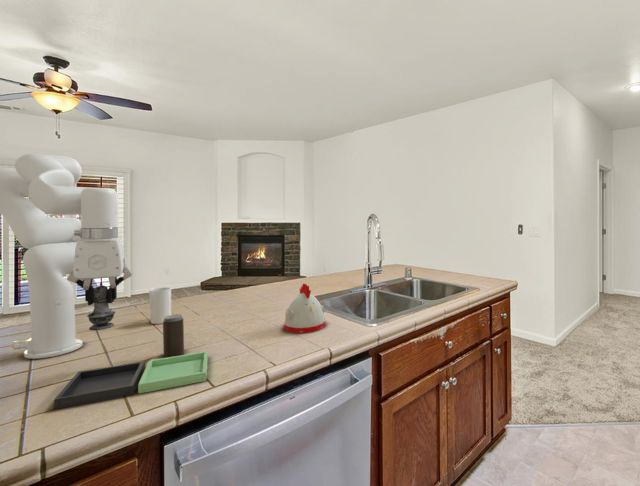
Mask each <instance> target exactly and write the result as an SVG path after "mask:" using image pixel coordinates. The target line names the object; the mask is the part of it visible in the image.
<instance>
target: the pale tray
mask: <svg viewBox="0 0 640 486" xmlns="http://www.w3.org/2000/svg"><path fill="white" fill-rule="evenodd" d="M208 361H209V352H208V350H206V351H200V352H194V353H187V354H182V355H180V356H174V357H168V358H166V357H161V358H154V359H150V360H148V362H147V364H146V366H145V370H144V372H143V375H142V377H141V379H140V381H139V383H138V386H137V391H138V394H145V393H149V392H154V391H159V390H165V389H170V388H176V387H181V386H187V385H191V384H196V383H201V382H206V381H207V374H208Z"/></svg>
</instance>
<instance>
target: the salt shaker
mask: <svg viewBox="0 0 640 486" xmlns="http://www.w3.org/2000/svg"><path fill="white" fill-rule="evenodd" d="M94 288H95V289H94V300H93V302H94V303H93V311H92V312H91V313H89V314H87V315H86V317H87V318H88V321H89V322H90V323H91V324H92V325H91V326H90V327H88V330H89V331H104V330H107V329H111V328H112V327H113V328H114V327H115V323H113V322H111V321H112V320H113V319H114V317H115V314H116V311H115V310H112V309H110V305H109V303H108V289H109V287H108V286H106V285H103V282H100V283H99V285H97V286H96V287H94Z"/></svg>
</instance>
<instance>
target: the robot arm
mask: <svg viewBox="0 0 640 486" xmlns="http://www.w3.org/2000/svg"><path fill="white" fill-rule="evenodd" d="M82 175H83V169H82V166H81V164H80V163H79V161H78V160H77V159H74V158H73V157H70V156H66V155H65V156H64V155H55V154H46V153H45V154H44V153H26V154H22V155H21V156H20V157H18V158H17V159H16V160H15V161H14V167H1V168H0V214H1V215H2V217H4V219H5V220H6V222H7V224H8V226H9V227H10V229H11V231H12V233H13V234H14V237H15V238H16V240H17V241H18V243H19V244H20V245H21V246H22V247H23V248H24V249H27V250H26V251H25V252H24V254H23V256H22V263H23V268H24V271H25V275H26V279H27V284H28V296H29V299H28V300H29V314H30V315H29V317H30V318H29V319H30V338H27V339H25V340H23V339H22V340H15V341H12V342H11V348H12V349H13V350H21V349H25V351H23V357H24V358H25V359H32V360H34V359H35V360H36V359H38V360H39V359H46V358H47V359H48V358H53V357H58V356H62V355H66V354H68V353H71V352H74V351H76V350H78V349H81V347H83V345H84V344H83V342H84V341H83V339H79V338H77V337H76V336H77V335H76V334H77V333H76V309H75V308H76V306H75V288H74V286H73V285H72V284H71V283H70V282H72V283H74V284H76V285H78V286H79V287H80V288H82V289H83V290H84V300H85V302H87V305H88V306H91V305H94V302H93V300H94V289H95V288H96V287H94V285H93V282H94V280H95V279H108V283H109V287H108V304H112V303H114V301H115V300H117V298H118V297H117V295H118V291H117V287H118V286H119V285H120V284H121V283H122V282H123V281H125V280H127V279H129V278H131V277H132V276H133V272H132V271H131V270H130V269H129V267H128V266H127V265H126V260H125V259H126V258H125V251H124V245H123V242H122V241H123V240H122V239H121V238H119V213H118V211H119V205H118V202H119V201H118V192H117V191H116V190H115V188H114V189H113V188H108V187H90V186H89V187H87V186H75V185H76V184H78V182H79V181H80V180H81V178H82ZM27 197H29V198H27ZM47 214H48V215H52V216H69V215H70V216H71V215H72V216H77V215H80V219H78V218H75V217H50V216H48V215H47ZM122 274H123V275H122ZM64 276H67V278H65V277H64Z"/></svg>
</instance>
